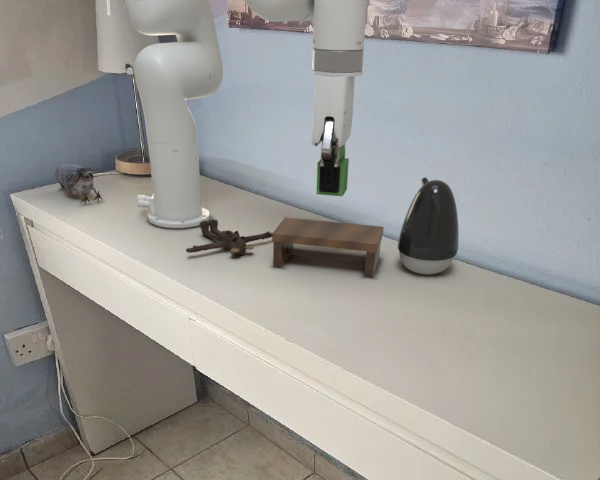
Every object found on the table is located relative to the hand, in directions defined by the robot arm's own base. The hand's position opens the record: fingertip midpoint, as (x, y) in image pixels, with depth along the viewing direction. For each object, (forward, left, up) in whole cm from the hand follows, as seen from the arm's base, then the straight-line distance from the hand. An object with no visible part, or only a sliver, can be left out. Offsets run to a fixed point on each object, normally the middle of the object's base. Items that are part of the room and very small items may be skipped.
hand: (331, 186), depth 102 cm
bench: (0, 0, -13) cm, 13 cm away
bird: (-62, +24, -14) cm, 68 cm away
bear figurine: (-20, +3, -14) cm, 24 cm away
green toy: (0, 0, -1) cm, 1 cm away
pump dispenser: (+17, +2, -14) cm, 22 cm away
